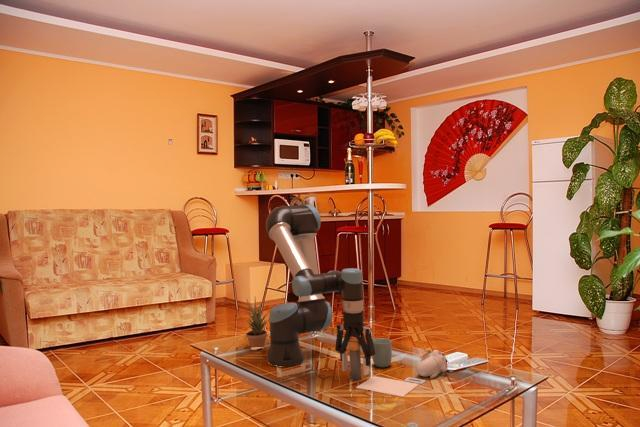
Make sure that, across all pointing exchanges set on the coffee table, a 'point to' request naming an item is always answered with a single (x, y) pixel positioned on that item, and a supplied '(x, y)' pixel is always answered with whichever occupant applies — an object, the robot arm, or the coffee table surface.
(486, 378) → the coffee table surface
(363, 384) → the paper
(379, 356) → the cup
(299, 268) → the robot arm
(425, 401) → the coffee table surface
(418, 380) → the plate
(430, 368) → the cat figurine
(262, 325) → the potted plant
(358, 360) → the marker
